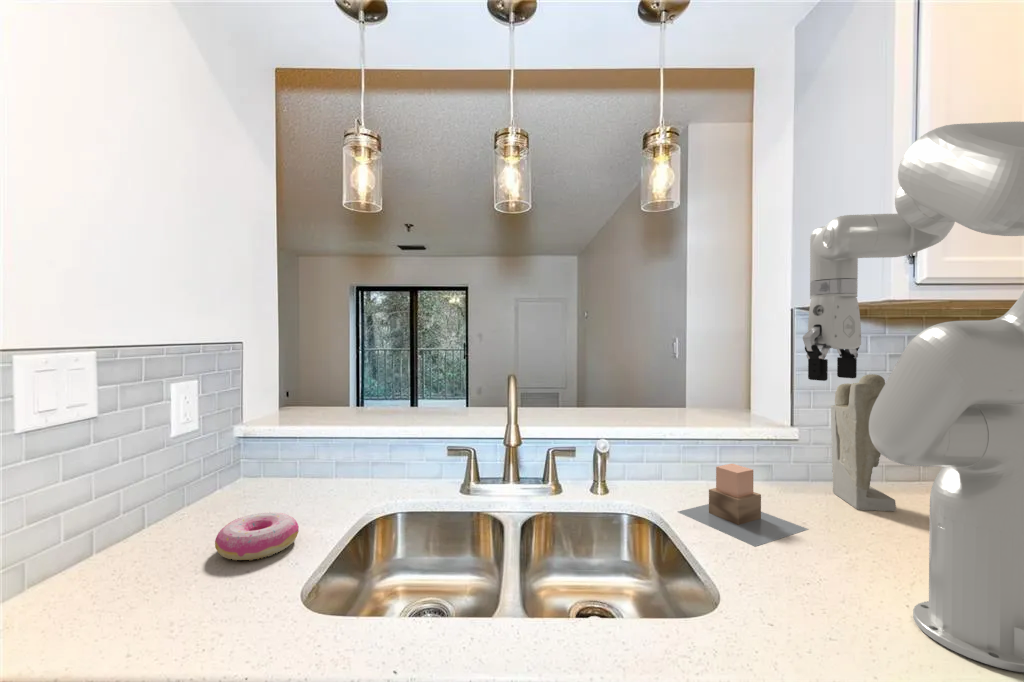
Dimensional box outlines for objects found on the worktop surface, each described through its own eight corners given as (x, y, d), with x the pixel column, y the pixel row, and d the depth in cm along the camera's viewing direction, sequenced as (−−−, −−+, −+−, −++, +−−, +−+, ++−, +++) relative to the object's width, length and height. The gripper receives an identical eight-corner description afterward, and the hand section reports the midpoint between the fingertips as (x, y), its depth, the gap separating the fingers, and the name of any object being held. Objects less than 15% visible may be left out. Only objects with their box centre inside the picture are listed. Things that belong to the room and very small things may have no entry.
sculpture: (904, 517, 96) (906, 376, 96) (861, 514, 98) (862, 375, 98) (865, 493, 111) (866, 370, 111) (828, 490, 113) (828, 370, 112)
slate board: (808, 534, 88) (808, 529, 88) (755, 552, 81) (755, 546, 81) (727, 503, 104) (727, 499, 104) (677, 516, 97) (677, 511, 97)
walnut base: (760, 518, 93) (761, 494, 93) (738, 525, 90) (738, 500, 90) (731, 507, 100) (731, 484, 100) (708, 512, 97) (708, 489, 97)
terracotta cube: (753, 493, 94) (753, 469, 94) (737, 497, 92) (737, 473, 92) (732, 486, 98) (732, 463, 98) (716, 490, 96) (716, 466, 96)
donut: (269, 569, 76) (268, 539, 76) (195, 565, 77) (194, 536, 77) (312, 534, 90) (311, 509, 90) (248, 531, 91) (248, 506, 91)
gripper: (828, 286, 80) (827, 383, 81) (879, 290, 88) (878, 378, 89) (786, 290, 87) (785, 379, 87) (837, 293, 95) (836, 375, 95)
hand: (832, 378), depth 88 cm, fingers open, 9 cm apart
